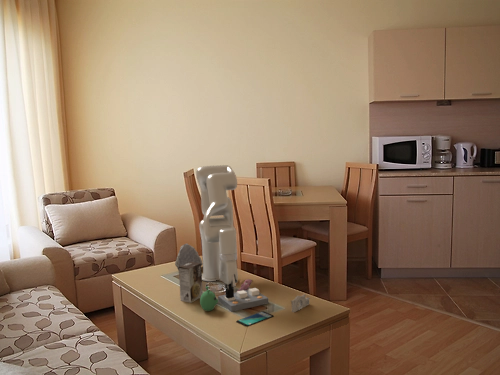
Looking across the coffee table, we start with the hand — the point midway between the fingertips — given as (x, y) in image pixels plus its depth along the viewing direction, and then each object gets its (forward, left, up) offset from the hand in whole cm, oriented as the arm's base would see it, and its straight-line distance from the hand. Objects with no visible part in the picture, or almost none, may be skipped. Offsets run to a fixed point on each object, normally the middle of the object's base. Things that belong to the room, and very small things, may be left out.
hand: (229, 297), depth 204 cm
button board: (+1, +6, -3) cm, 7 cm away
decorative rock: (-60, +3, -4) cm, 60 cm away
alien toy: (+1, -10, -4) cm, 11 cm away
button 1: (0, 0, -3) cm, 3 cm away
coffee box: (-16, -12, -4) cm, 20 cm away
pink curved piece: (-12, +13, -4) cm, 18 cm away
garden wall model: (+20, +24, -4) cm, 31 cm away
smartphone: (+20, +2, -4) cm, 20 cm away
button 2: (0, +12, -2) cm, 12 cm away
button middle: (0, +6, -2) cm, 6 cm away
